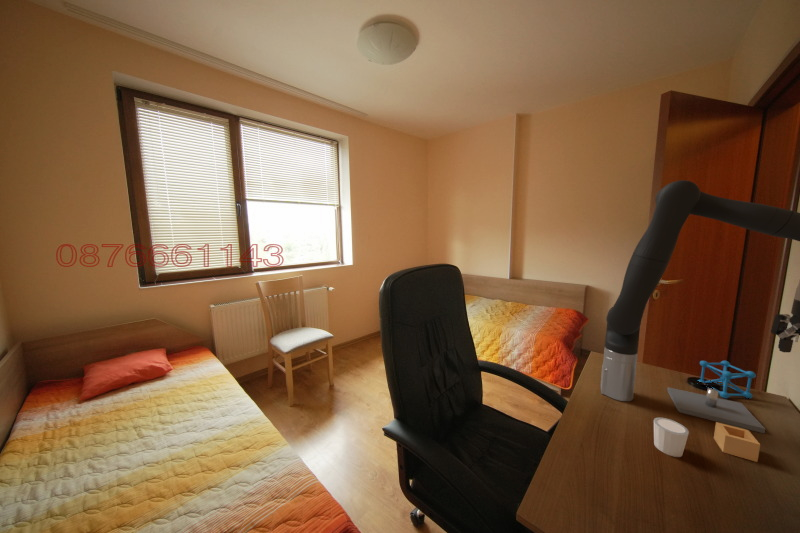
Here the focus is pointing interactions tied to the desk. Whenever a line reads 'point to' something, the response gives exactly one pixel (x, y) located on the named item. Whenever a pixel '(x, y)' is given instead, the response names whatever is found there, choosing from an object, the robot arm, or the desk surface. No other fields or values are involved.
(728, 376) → the molecular structure
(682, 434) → the shot glass
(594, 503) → the desk surface
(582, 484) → the desk surface
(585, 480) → the desk surface
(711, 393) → the steel post
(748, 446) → the ochre collar
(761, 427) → the post board
